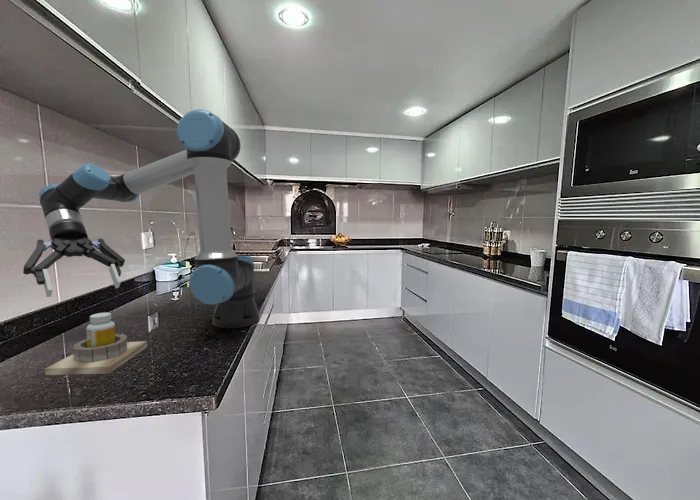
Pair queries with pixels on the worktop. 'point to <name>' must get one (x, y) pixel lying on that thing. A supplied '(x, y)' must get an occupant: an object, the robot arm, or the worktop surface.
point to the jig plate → (95, 366)
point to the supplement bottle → (100, 330)
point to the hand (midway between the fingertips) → (86, 289)
